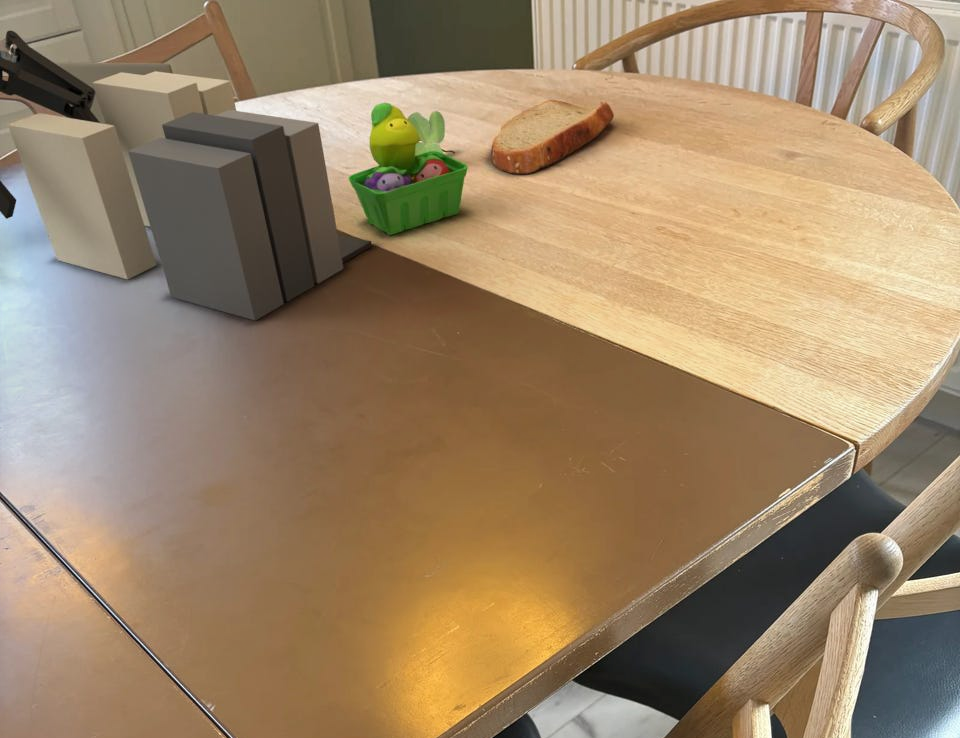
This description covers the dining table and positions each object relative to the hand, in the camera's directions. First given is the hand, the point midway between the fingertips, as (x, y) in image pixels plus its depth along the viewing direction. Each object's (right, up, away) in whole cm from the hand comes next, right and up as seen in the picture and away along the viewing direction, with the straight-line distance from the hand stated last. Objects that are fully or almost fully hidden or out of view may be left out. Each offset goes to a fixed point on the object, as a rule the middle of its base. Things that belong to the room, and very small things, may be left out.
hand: (66, 187), depth 106 cm
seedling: (+38, +11, +20) cm, 44 cm away
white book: (+3, -6, +4) cm, 8 cm away
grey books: (+22, -9, -1) cm, 24 cm away
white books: (+12, +3, +14) cm, 19 cm away
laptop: (+1, +17, +30) cm, 34 cm away
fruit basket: (+36, 0, +7) cm, 36 cm away
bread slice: (+53, +15, +22) cm, 59 cm away
